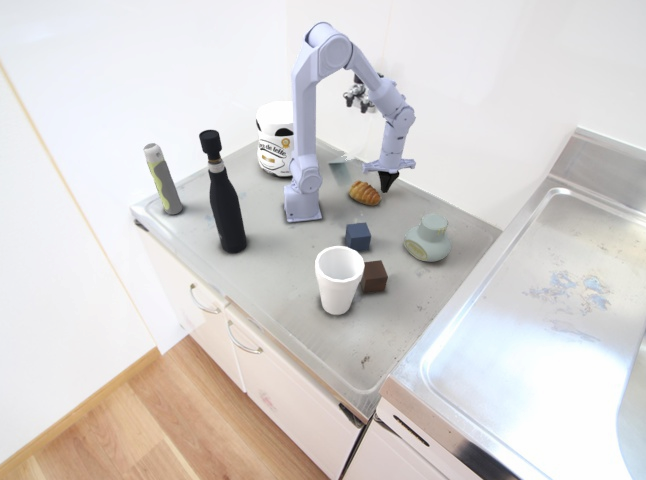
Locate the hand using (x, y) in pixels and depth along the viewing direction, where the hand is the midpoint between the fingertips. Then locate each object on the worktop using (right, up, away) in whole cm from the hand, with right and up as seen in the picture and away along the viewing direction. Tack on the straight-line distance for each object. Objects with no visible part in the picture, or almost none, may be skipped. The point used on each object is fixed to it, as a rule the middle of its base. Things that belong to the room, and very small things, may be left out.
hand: (383, 191), depth 100 cm
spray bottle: (-61, -6, -2) cm, 61 cm away
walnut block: (-8, -26, -21) cm, 34 cm away
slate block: (-10, -16, -13) cm, 23 cm away
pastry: (-6, -2, +1) cm, 6 cm away
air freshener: (+7, -18, -15) cm, 24 cm away
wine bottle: (-41, -16, -12) cm, 46 cm away
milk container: (-29, +10, +12) cm, 34 cm away
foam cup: (-17, -30, -25) cm, 42 cm away
